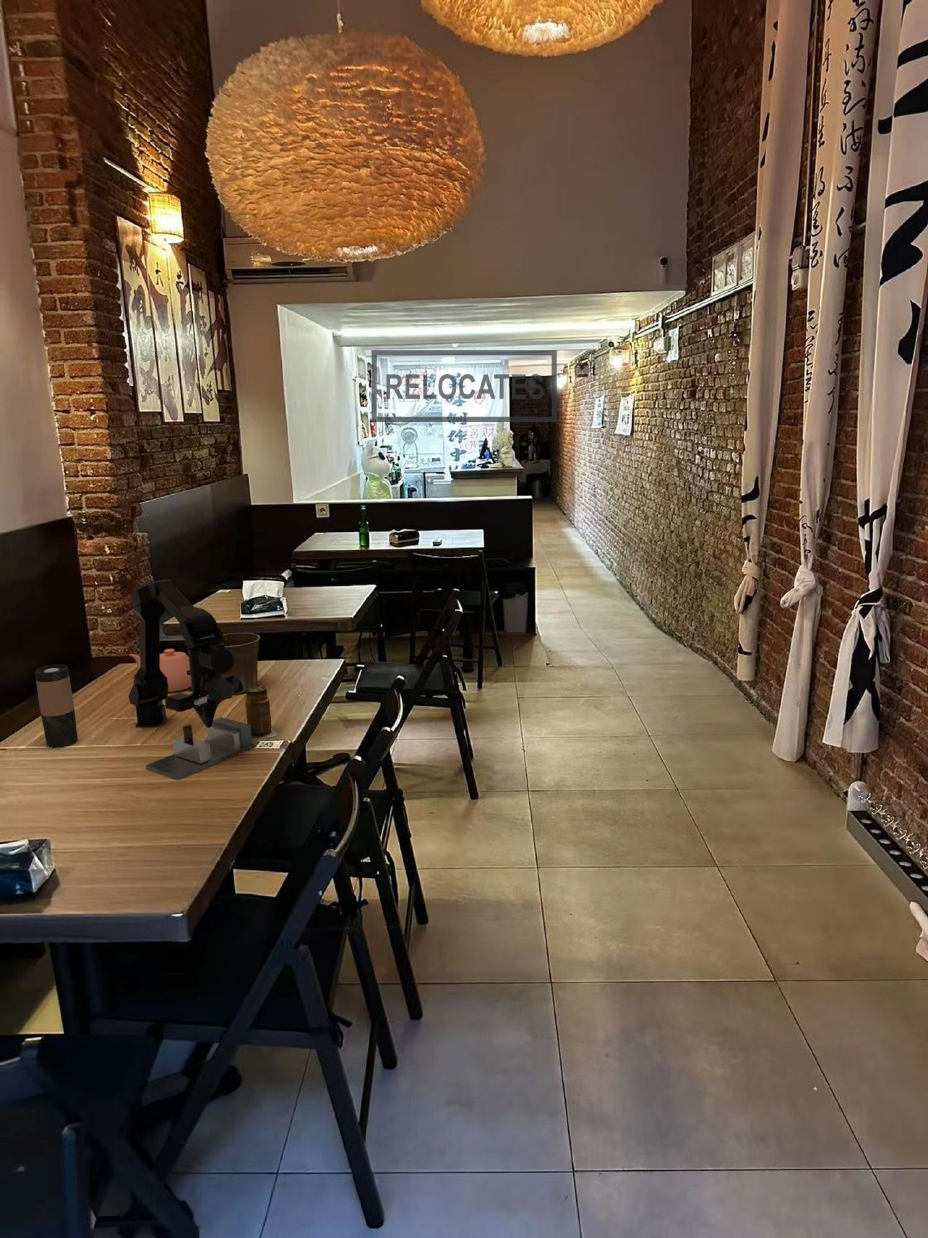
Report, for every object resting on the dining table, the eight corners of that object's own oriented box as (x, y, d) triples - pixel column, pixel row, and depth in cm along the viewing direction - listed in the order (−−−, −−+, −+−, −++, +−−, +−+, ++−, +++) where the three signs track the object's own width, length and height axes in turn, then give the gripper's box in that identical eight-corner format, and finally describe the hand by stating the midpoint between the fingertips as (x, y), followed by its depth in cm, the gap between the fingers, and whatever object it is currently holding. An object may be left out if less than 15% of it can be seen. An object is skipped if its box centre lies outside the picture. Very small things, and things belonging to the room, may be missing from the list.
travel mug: (85, 739, 202) (74, 665, 197) (59, 750, 195) (48, 674, 191) (65, 735, 205) (54, 663, 201) (39, 746, 198) (27, 671, 194)
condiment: (270, 726, 208) (266, 683, 205) (277, 736, 201) (273, 692, 198) (243, 731, 205) (238, 687, 202) (249, 741, 198) (244, 696, 195)
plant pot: (256, 697, 232) (251, 645, 229) (202, 698, 233) (197, 646, 229) (270, 680, 248) (265, 631, 244) (220, 682, 248) (215, 633, 245)
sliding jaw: (200, 763, 181) (197, 731, 180) (174, 755, 187) (170, 723, 185) (211, 759, 184) (207, 727, 182) (184, 750, 189) (181, 720, 188)
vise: (178, 780, 176) (175, 755, 174) (146, 769, 182) (143, 745, 181) (253, 747, 193) (251, 725, 192) (222, 738, 200) (220, 716, 199)
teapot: (129, 698, 235) (124, 659, 232) (137, 683, 249) (133, 646, 246) (205, 691, 239) (201, 653, 236) (209, 677, 254) (205, 641, 251)
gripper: (190, 681, 173) (197, 746, 177) (255, 660, 188) (261, 721, 192) (160, 673, 179) (167, 737, 183) (225, 654, 194) (231, 713, 198)
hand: (208, 727), depth 189 cm, fingers closed
